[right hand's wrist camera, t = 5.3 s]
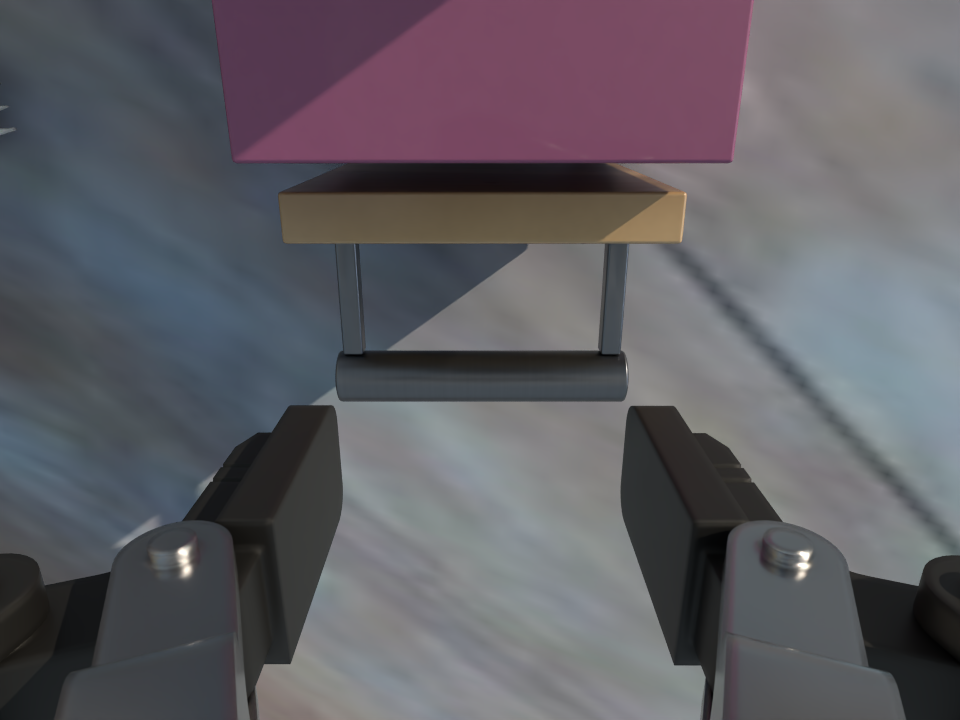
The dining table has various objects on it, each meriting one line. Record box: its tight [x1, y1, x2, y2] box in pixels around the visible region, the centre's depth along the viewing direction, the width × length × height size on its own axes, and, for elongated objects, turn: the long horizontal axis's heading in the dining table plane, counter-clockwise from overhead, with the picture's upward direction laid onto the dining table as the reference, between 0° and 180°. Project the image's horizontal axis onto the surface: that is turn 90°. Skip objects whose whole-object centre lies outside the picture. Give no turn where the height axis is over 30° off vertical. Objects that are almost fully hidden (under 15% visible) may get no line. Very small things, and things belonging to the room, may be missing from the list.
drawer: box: [278, 163, 687, 401], centre depth 18 cm, size 20×9×9 cm, turn 0°
